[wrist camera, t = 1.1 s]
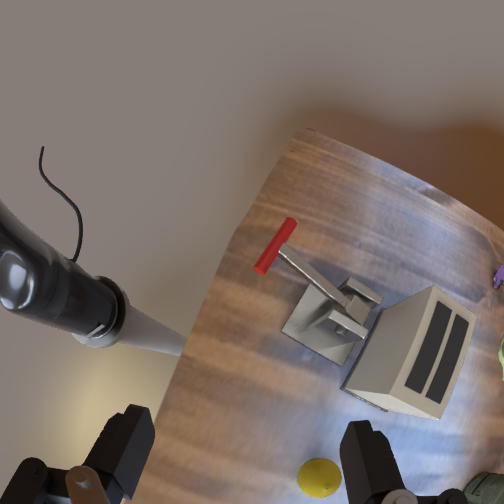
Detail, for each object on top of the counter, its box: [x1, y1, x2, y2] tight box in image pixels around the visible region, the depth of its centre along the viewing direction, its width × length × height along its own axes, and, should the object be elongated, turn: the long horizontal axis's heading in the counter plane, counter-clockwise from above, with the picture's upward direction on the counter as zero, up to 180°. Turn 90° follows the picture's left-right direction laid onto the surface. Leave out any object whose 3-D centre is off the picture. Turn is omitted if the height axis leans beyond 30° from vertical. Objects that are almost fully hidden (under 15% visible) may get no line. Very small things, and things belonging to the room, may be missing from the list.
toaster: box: [340, 285, 477, 420], centre depth 31 cm, size 9×14×14 cm, turn 147°
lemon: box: [297, 458, 342, 498], centre depth 27 cm, size 6×6×8 cm
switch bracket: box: [281, 276, 384, 366], centre depth 33 cm, size 10×8×13 cm
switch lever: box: [253, 217, 370, 326], centre depth 28 cm, size 13×6×2 cm, turn 57°
